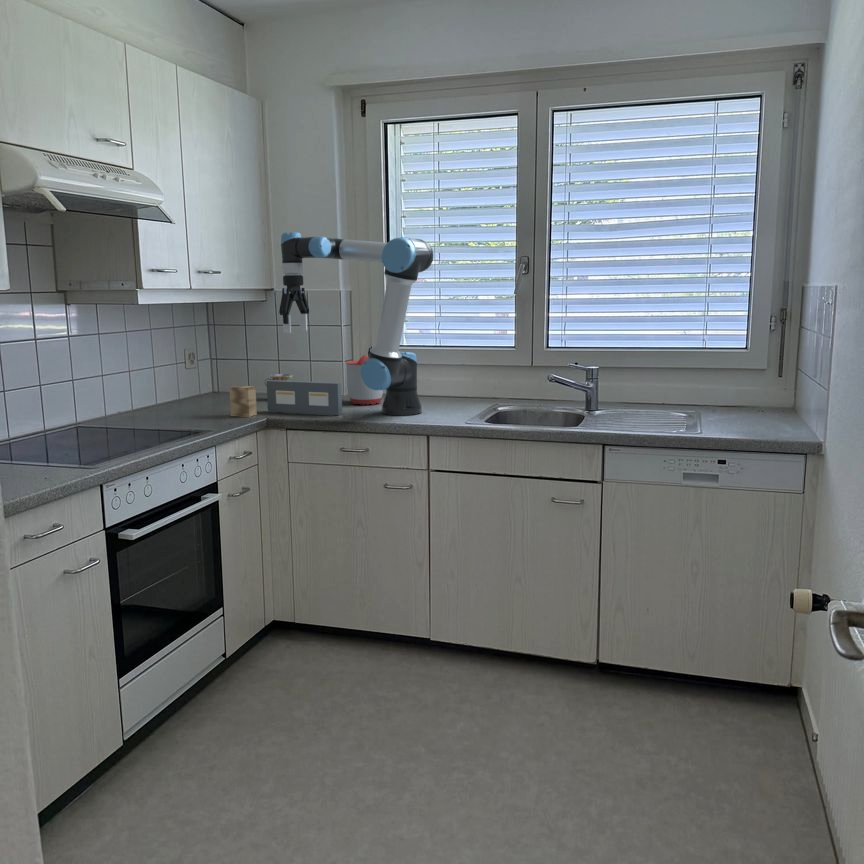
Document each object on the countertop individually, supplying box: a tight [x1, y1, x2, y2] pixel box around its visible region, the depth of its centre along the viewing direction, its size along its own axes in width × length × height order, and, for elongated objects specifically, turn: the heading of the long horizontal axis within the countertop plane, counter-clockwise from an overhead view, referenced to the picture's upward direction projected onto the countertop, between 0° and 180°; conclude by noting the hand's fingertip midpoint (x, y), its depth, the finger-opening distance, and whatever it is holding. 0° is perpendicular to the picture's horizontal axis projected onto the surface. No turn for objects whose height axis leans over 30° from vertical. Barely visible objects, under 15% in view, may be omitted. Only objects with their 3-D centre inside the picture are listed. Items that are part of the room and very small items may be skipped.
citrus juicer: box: [345, 354, 384, 406], centre depth 318 cm, size 16×17×20 cm
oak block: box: [228, 385, 258, 418], centre depth 290 cm, size 8×5×11 cm, turn 71°
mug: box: [264, 373, 294, 388], centre depth 330 cm, size 12×9×11 cm
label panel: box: [266, 379, 343, 417], centre depth 295 cm, size 30×4×12 cm, turn 71°
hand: (295, 331), depth 297 cm, fingers open, 13 cm apart
